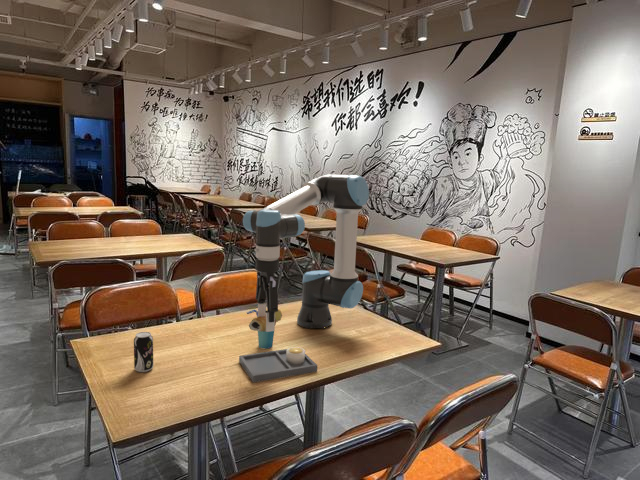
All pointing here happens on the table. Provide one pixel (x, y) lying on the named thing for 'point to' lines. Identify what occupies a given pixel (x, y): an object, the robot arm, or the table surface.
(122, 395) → the table surface
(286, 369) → the serving board
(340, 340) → the table surface
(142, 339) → the beverage can
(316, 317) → the robot arm
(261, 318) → the pastry
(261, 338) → the cup
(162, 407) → the table surface
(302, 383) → the table surface
